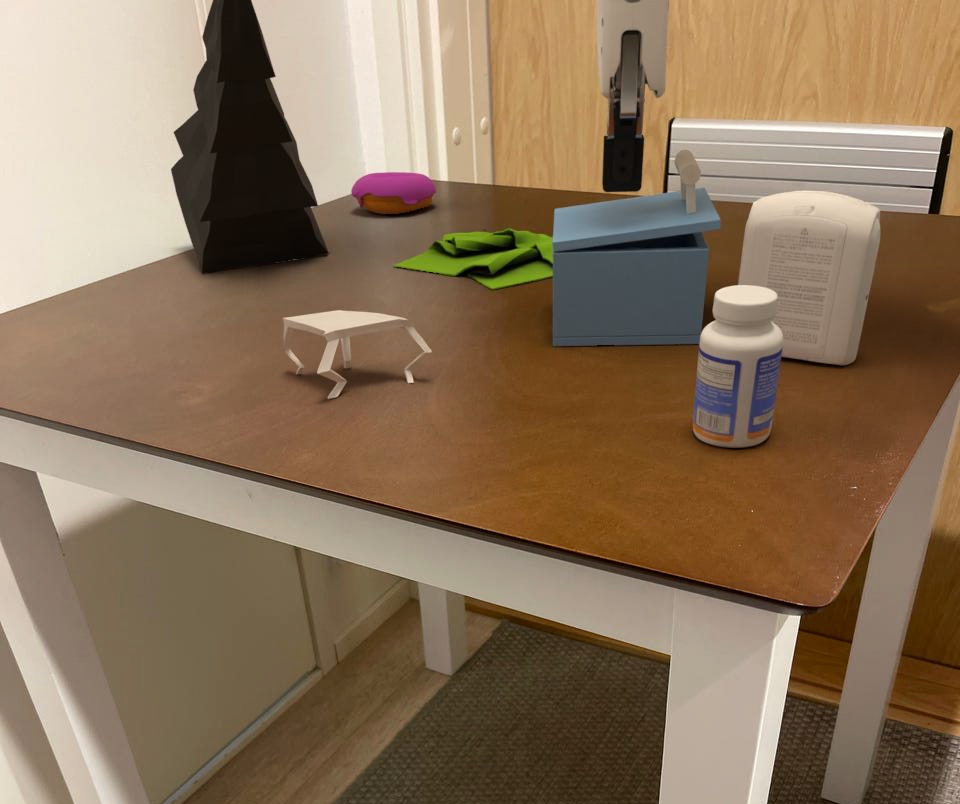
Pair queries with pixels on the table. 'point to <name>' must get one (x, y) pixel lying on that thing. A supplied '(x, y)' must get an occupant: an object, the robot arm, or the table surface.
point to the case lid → (639, 215)
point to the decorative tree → (242, 155)
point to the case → (631, 293)
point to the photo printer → (814, 269)
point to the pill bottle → (738, 368)
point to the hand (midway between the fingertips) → (621, 189)
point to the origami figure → (346, 337)
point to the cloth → (489, 257)
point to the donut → (393, 192)
